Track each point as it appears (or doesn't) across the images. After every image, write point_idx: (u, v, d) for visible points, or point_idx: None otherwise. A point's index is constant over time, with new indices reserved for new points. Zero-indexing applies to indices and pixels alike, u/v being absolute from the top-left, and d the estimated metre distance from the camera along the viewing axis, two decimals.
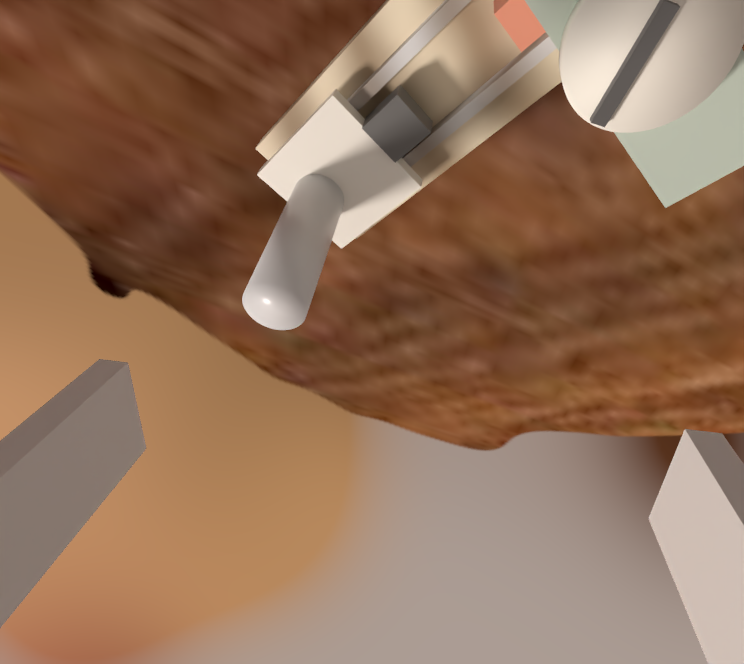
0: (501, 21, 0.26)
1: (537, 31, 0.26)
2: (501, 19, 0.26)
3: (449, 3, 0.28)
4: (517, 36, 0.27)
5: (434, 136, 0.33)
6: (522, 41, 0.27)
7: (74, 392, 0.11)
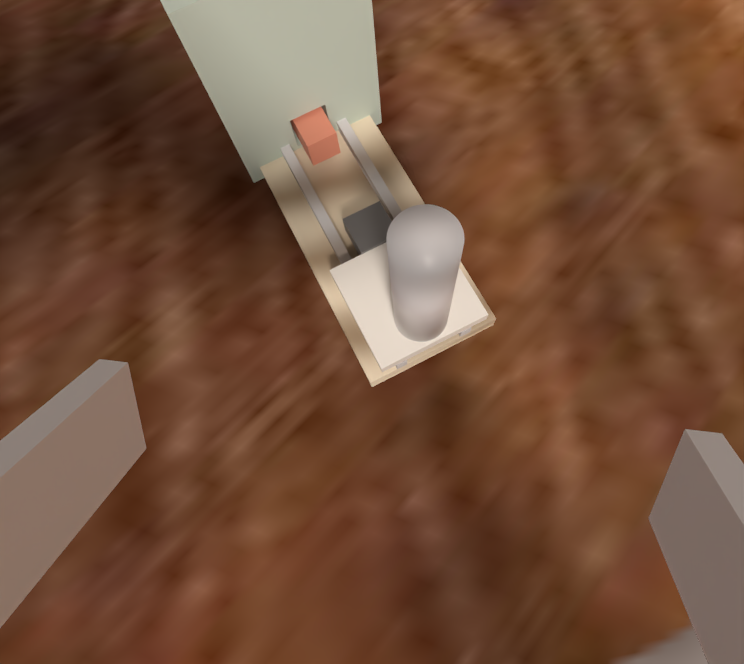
0: (313, 142, 0.38)
1: (326, 123, 0.39)
2: (312, 142, 0.38)
3: (302, 188, 0.40)
4: (325, 134, 0.39)
5: (394, 213, 0.38)
6: (329, 131, 0.39)
7: (75, 392, 0.11)
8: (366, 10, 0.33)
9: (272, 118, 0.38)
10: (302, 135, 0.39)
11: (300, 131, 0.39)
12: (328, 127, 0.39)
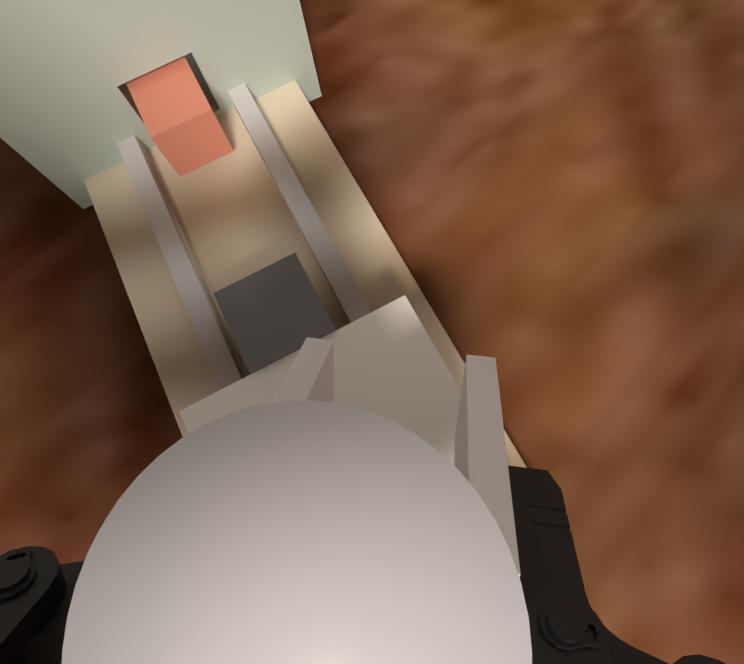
0: (163, 129, 0.19)
1: (193, 90, 0.19)
2: (160, 129, 0.19)
3: (152, 221, 0.20)
4: (189, 113, 0.19)
5: (332, 274, 0.19)
6: (197, 107, 0.19)
7: (305, 364, 0.13)
8: None
9: (70, 79, 0.18)
10: (143, 115, 0.19)
11: (139, 107, 0.19)
12: (196, 98, 0.19)
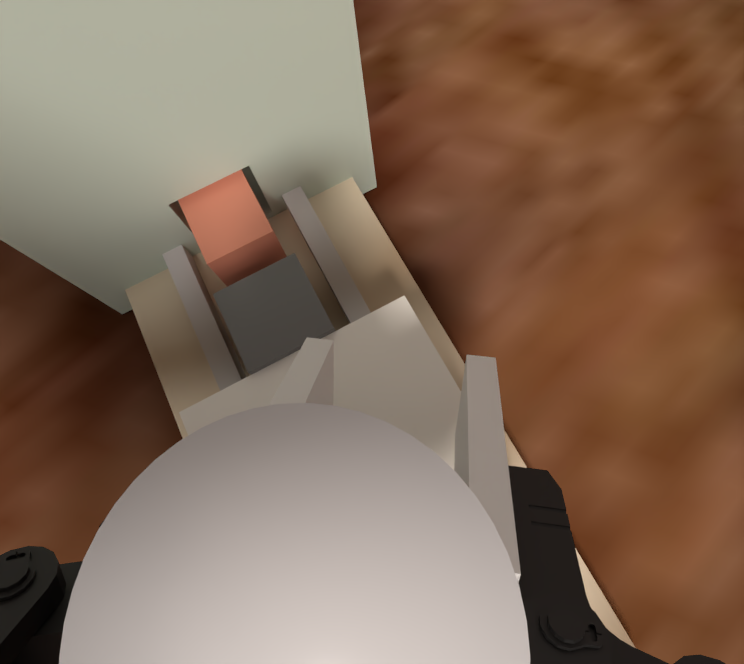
0: (220, 254, 0.17)
1: (251, 208, 0.17)
2: (217, 254, 0.17)
3: (205, 347, 0.18)
4: (249, 235, 0.17)
5: None
6: (257, 228, 0.17)
7: (305, 364, 0.13)
8: None
9: (120, 204, 0.16)
10: (197, 237, 0.17)
11: (193, 227, 0.17)
12: (255, 218, 0.17)
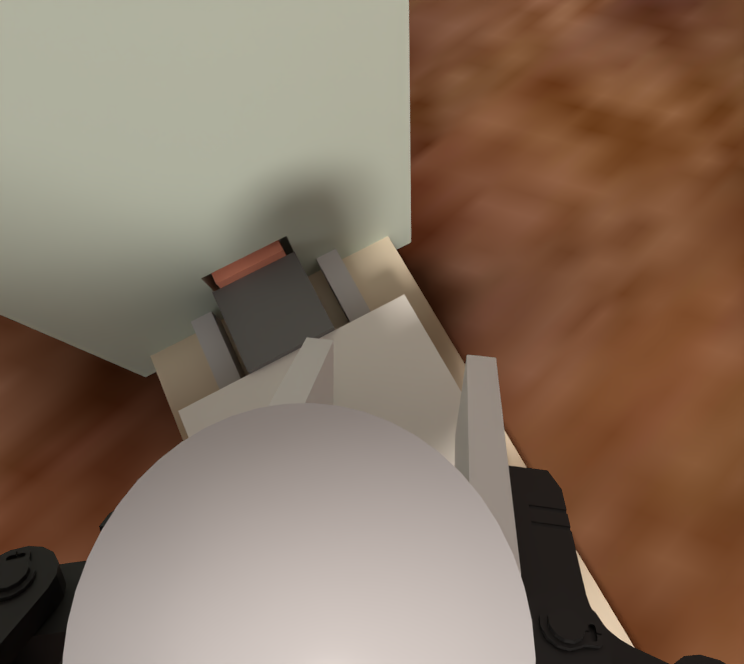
0: (229, 274, 0.17)
1: None
2: (226, 274, 0.17)
3: None
4: (258, 254, 0.17)
5: None
6: (267, 247, 0.17)
7: (305, 364, 0.13)
8: (391, 12, 0.11)
9: (152, 282, 0.15)
10: None
11: None
12: None
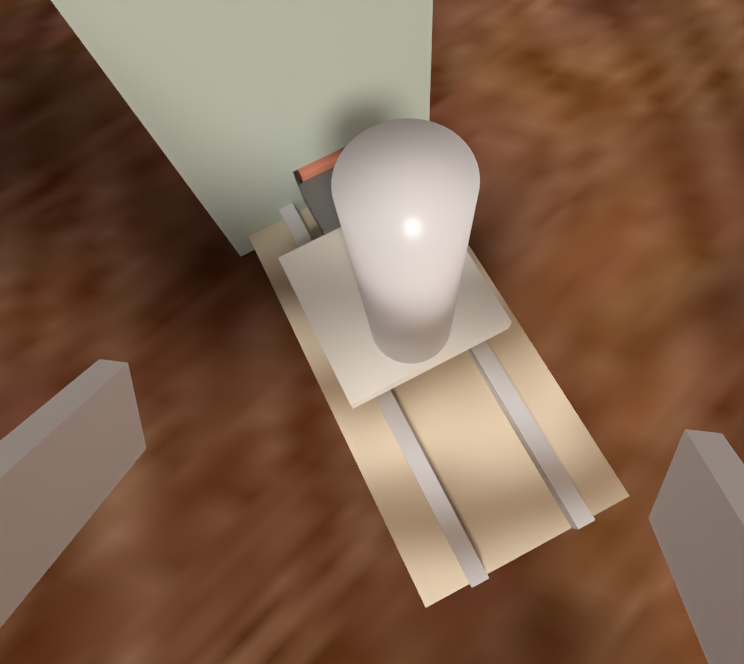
0: (310, 170, 0.25)
1: None
2: (308, 170, 0.25)
3: None
4: (329, 158, 0.25)
5: None
6: (335, 153, 0.25)
7: (75, 392, 0.11)
8: None
9: (265, 169, 0.24)
10: None
11: None
12: None
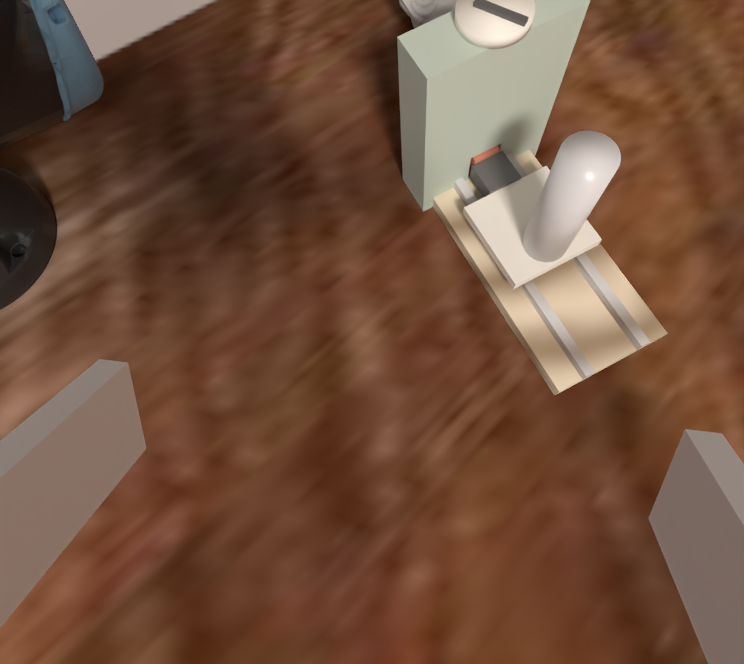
0: (480, 157, 0.44)
1: None
2: (478, 157, 0.44)
3: None
4: (490, 150, 0.44)
5: None
6: (493, 147, 0.44)
7: (75, 392, 0.11)
8: (563, 65, 0.38)
9: (460, 156, 0.42)
10: None
11: None
12: None
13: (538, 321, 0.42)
